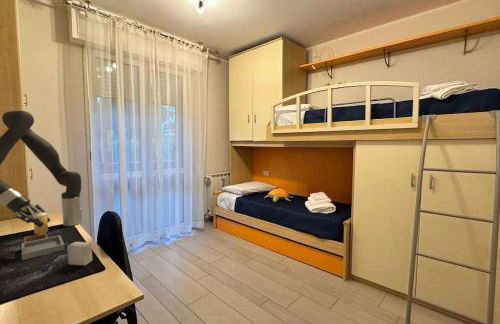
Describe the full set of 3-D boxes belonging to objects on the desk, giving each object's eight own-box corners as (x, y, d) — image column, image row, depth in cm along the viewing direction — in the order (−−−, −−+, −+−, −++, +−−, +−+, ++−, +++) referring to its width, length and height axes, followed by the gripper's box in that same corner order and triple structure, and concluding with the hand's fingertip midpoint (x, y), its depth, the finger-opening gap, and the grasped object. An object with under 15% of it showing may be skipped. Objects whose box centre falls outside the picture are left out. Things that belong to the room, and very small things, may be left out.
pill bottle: (47, 229, 120) (46, 211, 119) (48, 232, 116) (47, 214, 115) (34, 231, 116) (33, 213, 115) (34, 234, 113) (33, 216, 112)
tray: (60, 240, 128) (60, 235, 128) (64, 249, 117) (64, 244, 117) (21, 248, 117) (21, 243, 117) (22, 260, 107) (21, 254, 106)
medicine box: (92, 260, 107) (91, 242, 106) (84, 266, 103) (83, 246, 102) (76, 259, 108) (75, 241, 107) (68, 264, 104) (66, 245, 103)
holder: (46, 236, 132) (46, 232, 132) (48, 241, 126) (47, 237, 126) (24, 241, 126) (23, 237, 126) (24, 246, 119) (24, 243, 119)
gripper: (9, 198, 106) (43, 222, 110) (30, 191, 120) (59, 213, 124) (-5, 210, 105) (30, 234, 109) (18, 202, 119) (48, 224, 123)
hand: (45, 223), depth 116 cm, fingers closed on pill bottle, 5 cm apart
